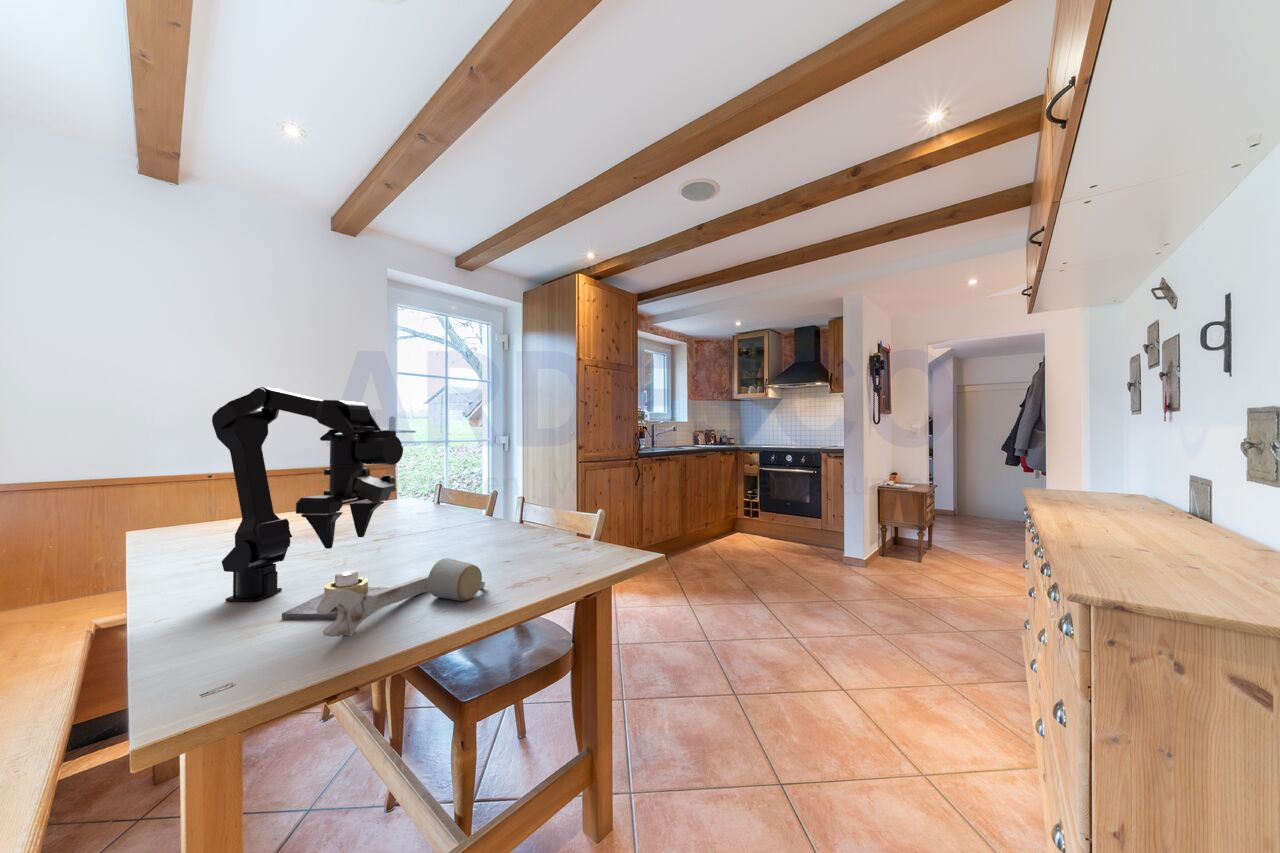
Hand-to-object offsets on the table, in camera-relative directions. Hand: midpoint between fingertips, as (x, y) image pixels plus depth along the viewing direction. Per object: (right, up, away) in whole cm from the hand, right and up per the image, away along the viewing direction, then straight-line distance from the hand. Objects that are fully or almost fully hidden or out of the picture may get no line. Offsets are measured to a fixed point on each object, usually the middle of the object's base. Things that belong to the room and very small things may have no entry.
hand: (345, 542), depth 89 cm
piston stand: (+1, -12, -1) cm, 12 cm away
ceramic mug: (+21, -12, +4) cm, 25 cm away
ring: (+1, -10, -1) cm, 10 cm away
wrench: (+11, -12, -5) cm, 17 cm away
